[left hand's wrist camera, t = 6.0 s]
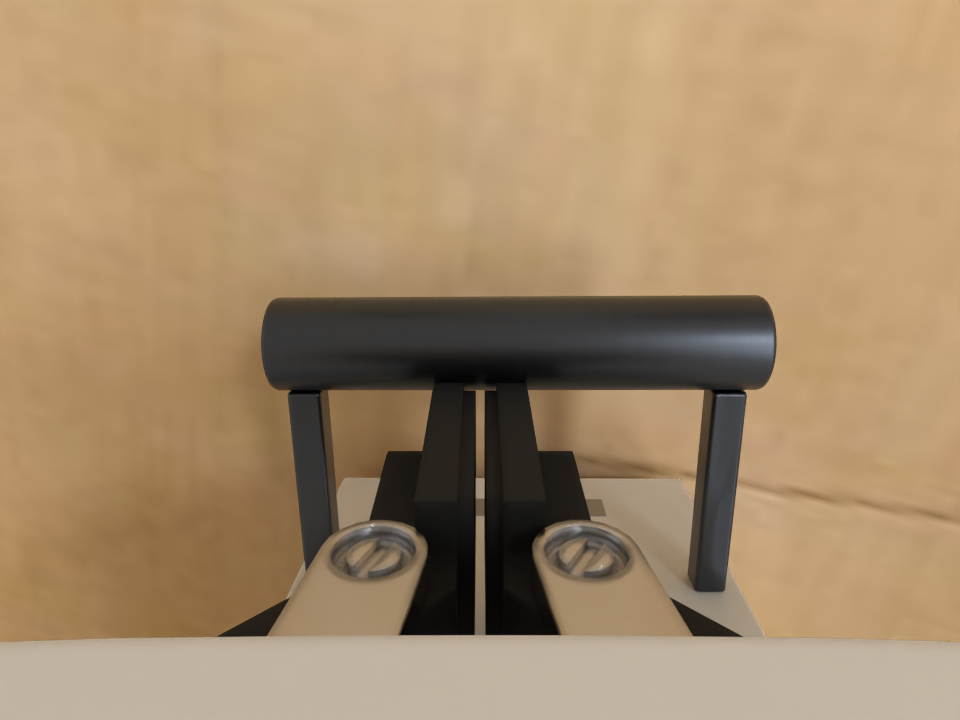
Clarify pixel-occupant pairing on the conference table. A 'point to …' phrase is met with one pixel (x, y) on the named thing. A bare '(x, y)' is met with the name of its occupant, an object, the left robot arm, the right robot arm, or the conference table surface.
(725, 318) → the drawer
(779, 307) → the conference table surface
